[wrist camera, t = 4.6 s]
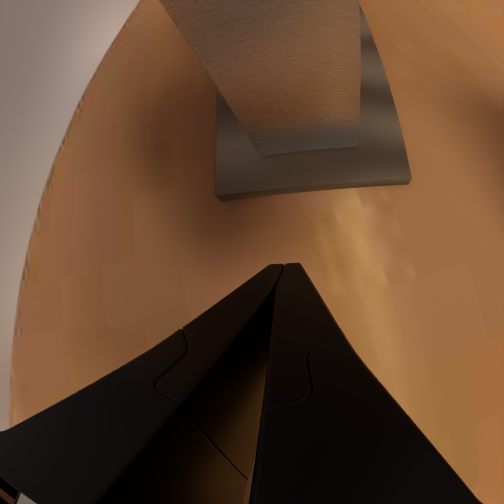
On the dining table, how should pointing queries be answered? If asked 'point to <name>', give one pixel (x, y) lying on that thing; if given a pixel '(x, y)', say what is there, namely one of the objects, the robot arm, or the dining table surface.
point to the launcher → (324, 160)
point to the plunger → (281, 67)
